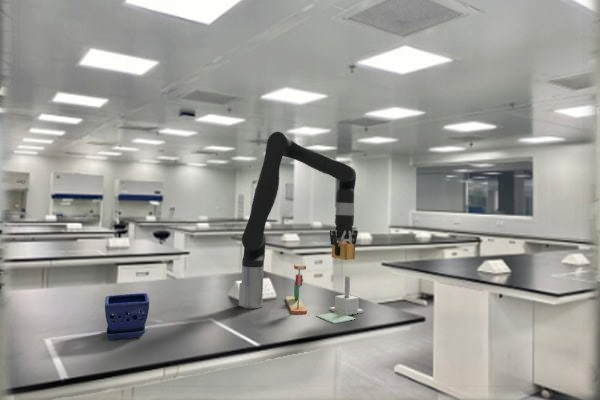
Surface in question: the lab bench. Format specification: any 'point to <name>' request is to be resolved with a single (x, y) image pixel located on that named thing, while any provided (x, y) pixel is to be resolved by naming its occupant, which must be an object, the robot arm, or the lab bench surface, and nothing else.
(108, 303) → the flower pot
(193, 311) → the lab bench surface
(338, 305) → the stand
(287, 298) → the crank mechanism
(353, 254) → the cardboard box
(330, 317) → the mat
